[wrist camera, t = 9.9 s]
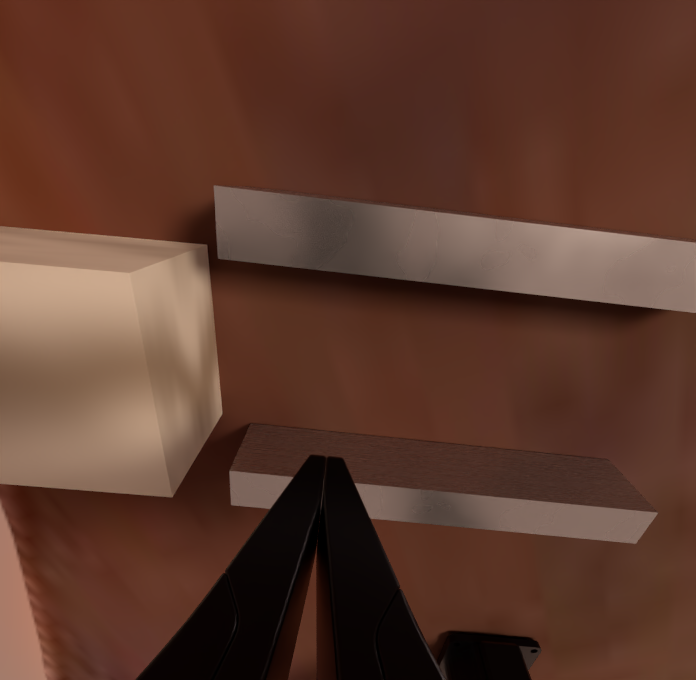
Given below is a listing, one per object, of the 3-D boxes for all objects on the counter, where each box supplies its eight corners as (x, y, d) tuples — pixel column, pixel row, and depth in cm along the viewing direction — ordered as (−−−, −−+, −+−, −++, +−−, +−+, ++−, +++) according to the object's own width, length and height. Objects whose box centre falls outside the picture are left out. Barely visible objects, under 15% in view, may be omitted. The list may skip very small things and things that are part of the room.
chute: (592, 488, 18) (635, 543, 15) (251, 454, 17) (231, 504, 14) (732, 244, 12) (840, 259, 10) (246, 186, 12) (213, 185, 9)
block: (223, 411, 16) (172, 497, 12) (59, 397, 16) (-58, 479, 12) (209, 243, 13) (129, 272, 8) (3, 225, 13) (-192, 244, 8)
